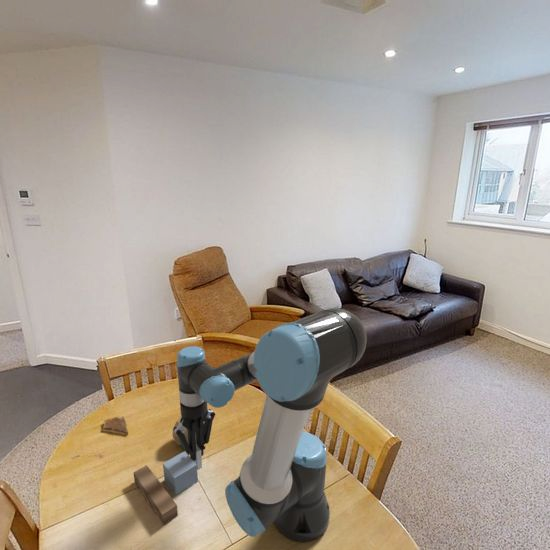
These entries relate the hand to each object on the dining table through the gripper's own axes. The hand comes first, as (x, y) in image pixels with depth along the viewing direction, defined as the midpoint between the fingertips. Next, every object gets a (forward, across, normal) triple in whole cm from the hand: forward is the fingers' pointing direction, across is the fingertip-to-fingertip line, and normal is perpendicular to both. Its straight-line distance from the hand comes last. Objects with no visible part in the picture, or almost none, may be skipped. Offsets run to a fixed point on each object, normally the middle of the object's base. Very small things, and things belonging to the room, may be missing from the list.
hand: (197, 465), depth 108 cm
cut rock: (+2, -4, -13) cm, 14 cm away
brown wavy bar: (+2, +14, 0) cm, 14 cm away
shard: (+2, +10, -36) cm, 37 cm away
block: (+2, +6, 0) cm, 6 cm away
